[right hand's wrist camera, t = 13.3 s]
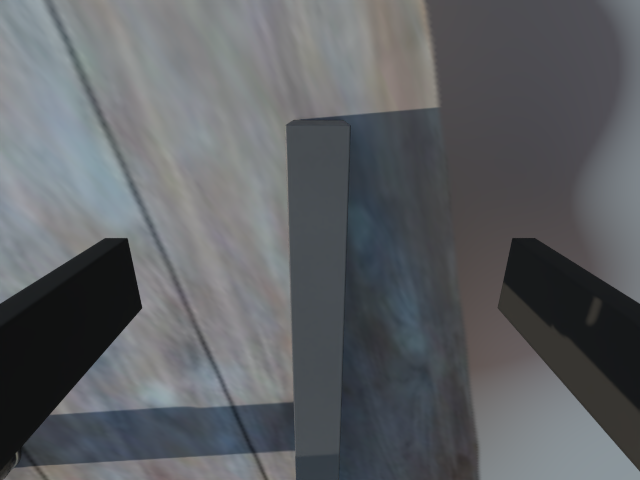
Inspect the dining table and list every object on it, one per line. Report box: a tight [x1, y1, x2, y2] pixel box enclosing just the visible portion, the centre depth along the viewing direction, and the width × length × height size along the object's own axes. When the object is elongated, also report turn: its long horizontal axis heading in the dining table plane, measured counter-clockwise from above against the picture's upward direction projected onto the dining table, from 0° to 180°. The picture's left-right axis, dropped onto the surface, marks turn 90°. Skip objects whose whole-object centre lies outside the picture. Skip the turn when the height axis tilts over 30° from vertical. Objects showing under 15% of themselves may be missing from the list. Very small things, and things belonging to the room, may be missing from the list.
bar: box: [285, 120, 351, 480], centre depth 42 cm, size 61×5×8 cm, turn 0°
